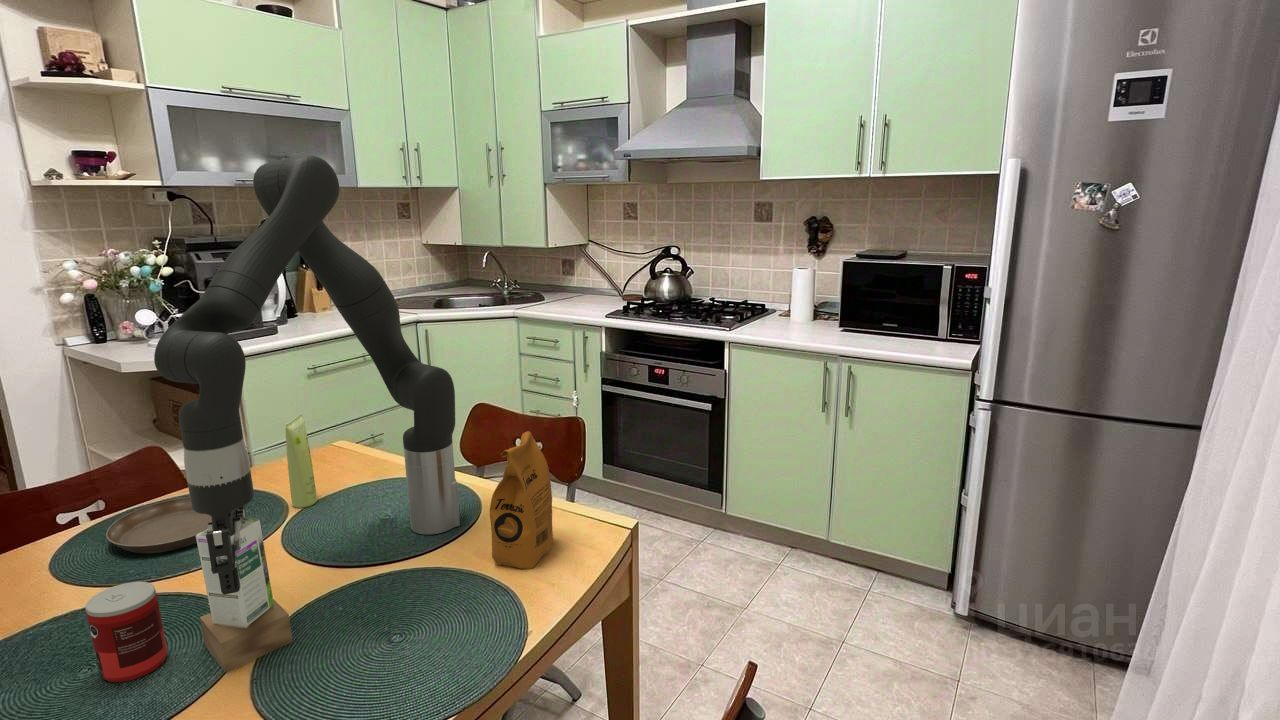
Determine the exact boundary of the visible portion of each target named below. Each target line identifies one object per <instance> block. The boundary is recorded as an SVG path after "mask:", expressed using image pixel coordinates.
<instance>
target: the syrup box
mask: <svg viewBox="0 0 1280 720" xmlns="http://www.w3.org/2000/svg"><path fill="white" fill-rule="evenodd" d="M207 532H208V529H206V530H205V531H203V532H201V533H199V534H197V535H196V540H197V543H196V544H197V549H198V554H199V559H200V564H201V570H202V574H203V579H204V585H205V590H206V594H207V601H208V604H209V610H210V613H211V616H212V621H213V623H214V624H219V625H224V626H232V627H239V628H247V627H248V626H249V625H250V624H251V623H252V622H253V621H255V620H256V619H257V618H259V617H260V616H261V615H262V614H263V613H265V612H266V611H267V610H268V609H270V608H271V607H272V606H273V605H274V602H273V599H274V598H273V592H272V586H271V579H270V574H269V569H268V568H269V567H268V563H267V562H268V560H267V556H266V550H265V549H266V548H265V544H264V538H263V537H264V536H263V533H262V527H261V522H260V519H257V518H253V517H248V516H247V517H245V520H242V529H241V530H240V539H241V549H240V550H239V551H238V552H237V561H238V565H237V568H238V574H239V580H240V590H239V591H238V592H235V593H230V594H222V592H221V587H220V581H219V575H218V573H216V574H213V573H212V571H211V562H210V555H209V549H208V542H207V538H206V534H207ZM234 542H235V532H234V535H232V536H231V545H232V544H234ZM227 560H228V559H227V556H221V562H222V561H227Z"/></svg>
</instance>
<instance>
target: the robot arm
mask: <svg viewBox="0 0 1280 720" xmlns="http://www.w3.org/2000/svg"><path fill="white" fill-rule="evenodd" d="M254 172H255V173H253V174H254V175H253V180H252V181H253V182H252V185H253V190H254V194H255V195H256V199H257V201H258V203H259V204H260V206H261V208H262V209H263V210H264V212H265V213H266V214H267V216H268V217H267V218H266V219H265V221H263V223H262V224H261V225H260V226H259V227H258V228H257V229H255V230H254V231H253V232H252V233H251V235H249V236H248V237H247V238H246V239H245V240H244V241H243V242H242V243H240V244H239V245H238V246H237V247H236V248H235V249H234V250H233V251H232V252H231V253H230V254H229V255H228V256H227V257H226V259H225V260H224V261H223V262H222V263H221V265H220V267H219V268H218V270H217V271H216V273H215V274H214V275H213V277H212V279H211V281H210V282H209V284H208V286H207V287H206V289H205V290H204V293H203V294H202V296H201V298H199V299H198V300H197V301H196V302H195V303H194V304H192V305H190V307H189V308H188V309H186V311H184V312H183V314H181V316H179V317H178V318H177V319H176V320H175V321H174V322H173V323H172V324H170V326H169V327H168V328H167V329H166V330H165V331H164V333H163V334H162V335H161V337H160V338H159V340H158V342H157V344H156V347H155V349H154V354H153V355H154V356H153V358H154V366H155V368H156V370H157V372H158V374H159V375H160V376H161V377H163V378H164V379H166V380H168V381H171V382H174V383H180V384H181V383H182V384H194V385H195V384H196V385H198V386H199V392H198V393H199V394H198V398H197V399H193V400H190V401H188V402H186V403H184V404H183V405H182V406H181V407H180V408H179V412H178V422H179V430H180V435H181V440H182V446H183V463H184V470H185V475H186V481H187V487H188V493H189V497H190V499H191V505H192V509H193V510H194V511H195V512H197V513H200V514H207V515H210V516H212V522H209V523H208V532H207V534H206V538H207V542H208V549H209V555H210V562H211V571H212V573H213V574H216V573H218V575H219V581H220V587H221V592H222V594H230V593H235V592H238V591H239V590H240V580H239V574H238V568H237V565H238V561H237V552H238V551H239V550H240V549H241V539H240V530H241V529H242V520H245V517H248V516H247V511H246V505H248V504H250V502H252V501H253V499H254V497H255V492H254V491H255V490H254V484H253V478H252V470H251V464H250V458H249V453H248V449H247V445H246V442H245V438H244V434H243V428H242V427H243V426H242V420H241V414H240V406H241V401H242V395H243V387H244V381H245V375H246V366H247V365H246V364H247V363H246V356H245V352H244V350H243V348H242V346H241V345H240V342H239V341H238V340H237V339H236V338H235V337H234V336H231V335H230V333H233V332H237V331H241V330H245V329H248V328H249V327H250V326H252V325H253V323H254V322H255V320H256V319H257V317H258V315H259V314H260V312H261V310H262V308H263V307H264V304H265V303H266V301H267V300H268V297H269V295H270V293H271V292H272V290H273V288H274V286H275V285H276V284H277V282H278V280H279V278H280V276H281V275H282V273H283V272H284V270H285V269H286V268H287V266H288V264H289V263H290V262H291V261H292V259H293V258H294V256H295V255H296V253H297V252H298V255H300V256H301V258H302V259H303V260H304V262H305V263H306V264H307V266H308V268H309V269H310V271H311V272H312V273H313V275H314V276H315V277H316V279H317V280H318V281H319V283H320V285H321V286H322V288H323V289H324V290H325V292H326V293H327V295H328V296H329V298H330V300H331V302H332V303H333V304H334V306H335V308H336V309H337V311H338V312H339V314H340V315H341V317H342V318H343V320H344V321H345V322H346V324H347V325H348V326H349V328H350V329H351V331H352V332H353V333H354V335H355V337H356V338H357V339H358V341H359V342H360V344H361V346H362V347H363V348H364V350H365V351H366V353H367V354H368V355H369V356H370V359H371V360H372V361H373V363H374V365H375V366H376V369H377V371H378V373H379V374H380V377H381V378H382V381H383V382H384V384H385V386H386V389H387V391H388V392H389V394H390V396H391V397H392V398H393V400H394V401H395V403H397V404H398V405H399V406H400V407H402V408H404V409H407V410H411V411H413V426H411V427H409V428H407V429H406V430H405V431H404V432H403V435H402V443H403V445H402V446H403V455H404V467H405V478H406V487H407V488H406V489H407V490H406V491H407V500H408V511H409V522H410V523H409V524H410V528H411V531H413V532H414V533H416V534H418V535H437V534H442V533H445V532H448V531H450V530H452V529H454V528H456V527H460V526H461V521H460V506H459V493H458V492H459V491H458V490H459V489H458V483H457V482H458V481H457V480H456V473H455V472H456V471H455V459H454V458H455V457H454V444H453V434H454V431H455V428H456V394H455V393H456V391H455V385H454V384H455V383H454V381H453V378H452V376H451V374H450V373H449V372H448V371H447V370H446V369H444V368H442V367H439V366H435V365H432V364H431V365H430V364H425V363H423V362H422V361H420V360H419V358H417V356H416V355H415V354H414V352H413V351H412V350H411V348H410V346H409V345H408V343H407V342H406V340H405V338H404V336H403V333H402V328H401V317H400V309H399V305H398V302H397V300H396V299H395V296H394V294H393V293H392V291H391V288H389V286H388V285H387V283H386V281H385V279H384V277H382V275H381V273H380V272H379V271H378V270H377V268H376V267H375V266H374V265H372V264H371V263H370V262H369V261H368V260H367V259H365V258H364V257H363V256H361V255H360V254H359V253H357V252H356V251H354V250H353V249H352V248H350V247H349V246H347V245H346V244H345V243H344V242H342V241H341V240H340V239H339V238H338V237H337V236H336V235H335V234H334V233H332V231H331V230H330V229H329V227H328V226H327V225H326V223H325V222H324V221H323V220H324V219H325V218H326V217H327V215H328V214H330V212H331V211H332V210H333V208H334V206H336V203H337V201H338V199H339V196H340V181H339V179H338V176H337V173H336V172H335V170H334V168H333V167H332V165H330V164H329V162H327V161H326V160H324V159H323V158H321V157H319V156H316V155H313V154H311V155H309V154H303V155H302V154H301V155H294V156H291V157H286V158H282V159H277V160H273V161H270V162H266V163H263V164H262V165H260V166H259V167H258V168H257V169H256V170H255V171H254ZM234 532H235V542H234V544H232V545H231V536H232V535H234ZM221 556H227V559H228V560H227V561H222V562H221Z"/></svg>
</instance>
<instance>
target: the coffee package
mask: <svg viewBox="0 0 1280 720" xmlns="http://www.w3.org/2000/svg"><path fill="white" fill-rule="evenodd" d="M500 457H501V458H506V461H507V463H508V464H507V465H506V466H505V469H504V472H503V475H502V479H501V480H500V481H499V482H498V483H497V486H496V488H495V489H494V491H493V493H492V496H491V500H490V506H489V520H490V521H489V523H490V529H491V558H492V560H493V561H494V563H495V564H496V565H498V566H502V565H504V566H508V567H511V568H512V567H513V568H516V569H519V570H522V569H525V570H529V569H530V570H531V569H533V568H535V567H536V565H537V564H538V563H539V561H540V559H541V558H542V557H544V556H546V555H547V554H549V552H550V550H551V546H552V544H553V542H554V533H553V492H552V484H551V476H550V469H549V464H548V461H547V459H546V458H545V455H544V453H543V452H542V450H541V449H540V447H539V444H538V443H537V441H536V439H534V437H533V435H532V433H531V431H529V430H528V431H525V432H523V433H522V435H521V436H520V442H519V445H517V446H513V447H510V448H509V449H505V450H503V452H502V453H501V454H500Z"/></svg>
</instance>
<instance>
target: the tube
mask: <svg viewBox="0 0 1280 720" xmlns="http://www.w3.org/2000/svg"><path fill="white" fill-rule="evenodd" d="M285 444H286V445H285V446H286V457H287V459H286V460H287V469H288V479H289V481H288V482H289V489H290V498H291V505H292V507H294V508H297V509H298V508H308V507H311V506H312V505H315V504H316V503H317V501H318V495H317V489H316V488H317V487H316V481H315V474H314V469H313V462H312V454H311V449H310V445H309V438H308V434H307V428H306V424H305V420H304V416H303V412H300V414H298V415H297V416H295V417H294V418H293V419H292V420H290V421H289V422H287V423H286V424H285Z"/></svg>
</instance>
